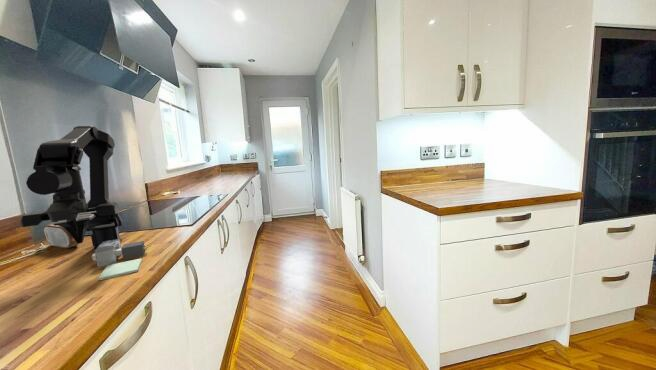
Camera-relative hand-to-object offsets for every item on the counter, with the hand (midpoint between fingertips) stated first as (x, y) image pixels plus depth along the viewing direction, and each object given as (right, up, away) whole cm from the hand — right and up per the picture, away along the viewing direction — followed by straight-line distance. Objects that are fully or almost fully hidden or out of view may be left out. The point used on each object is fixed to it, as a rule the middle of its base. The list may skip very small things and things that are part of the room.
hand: (80, 242), depth 72 cm
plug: (+8, -6, +5) cm, 11 cm away
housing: (+5, -6, +4) cm, 9 cm away
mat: (+14, -7, -3) cm, 16 cm away
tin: (-23, -5, +17) cm, 29 cm away
